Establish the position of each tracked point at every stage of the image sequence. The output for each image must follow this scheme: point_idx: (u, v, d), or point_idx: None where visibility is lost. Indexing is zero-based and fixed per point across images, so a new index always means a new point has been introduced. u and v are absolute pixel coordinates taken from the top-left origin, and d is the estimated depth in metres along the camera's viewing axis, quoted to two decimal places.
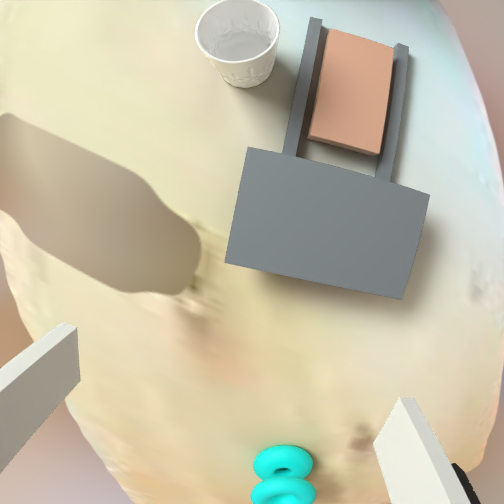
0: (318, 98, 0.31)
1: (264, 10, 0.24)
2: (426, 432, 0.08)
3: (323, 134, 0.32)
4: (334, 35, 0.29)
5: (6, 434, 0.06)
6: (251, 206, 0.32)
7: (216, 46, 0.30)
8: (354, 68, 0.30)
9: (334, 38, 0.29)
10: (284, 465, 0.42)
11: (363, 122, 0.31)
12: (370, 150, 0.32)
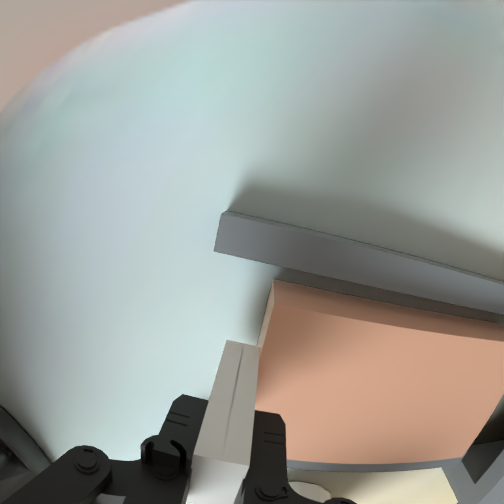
0: (408, 461, 0.13)
1: None
2: (247, 374, 0.11)
3: (469, 441, 0.13)
4: None
5: None
6: None
7: None
8: (352, 414, 0.12)
9: None
10: None
11: (475, 384, 0.12)
12: None
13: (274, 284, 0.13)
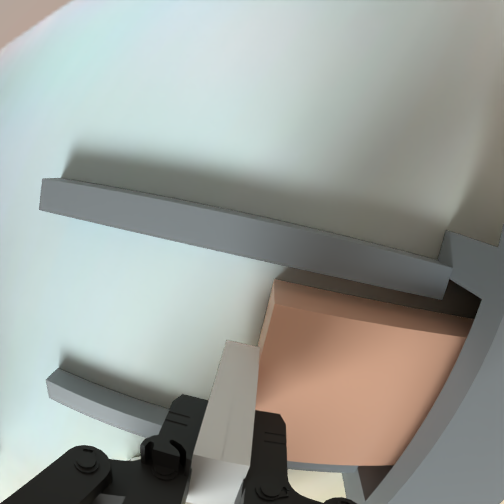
0: None
1: None
2: (248, 374, 0.11)
3: None
4: None
5: None
6: None
7: None
8: (353, 415, 0.12)
9: None
10: None
11: None
12: None
13: (275, 284, 0.13)
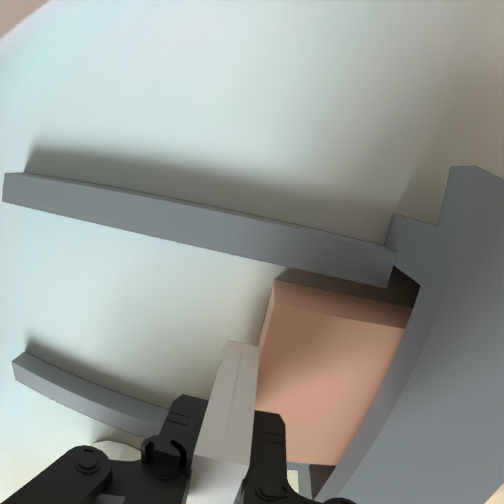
0: None
1: None
2: (247, 374, 0.11)
3: None
4: None
5: None
6: None
7: None
8: (353, 416, 0.12)
9: None
10: None
11: None
12: None
13: (275, 284, 0.13)
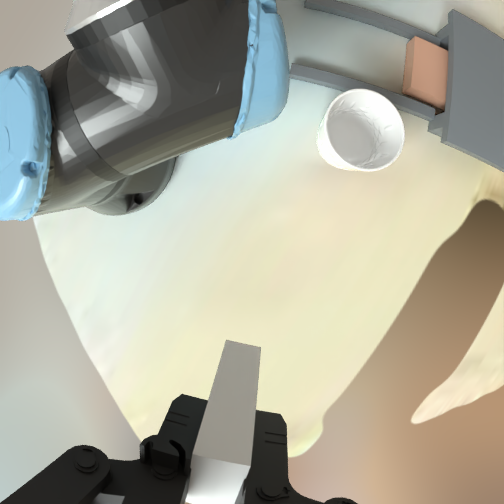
0: None
1: (336, 102, 0.26)
2: (248, 374, 0.11)
3: None
4: (417, 85, 0.30)
5: None
6: (484, 146, 0.29)
7: None
8: (444, 77, 0.30)
9: (420, 86, 0.30)
10: None
11: None
12: None
13: (409, 42, 0.31)
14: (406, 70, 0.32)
